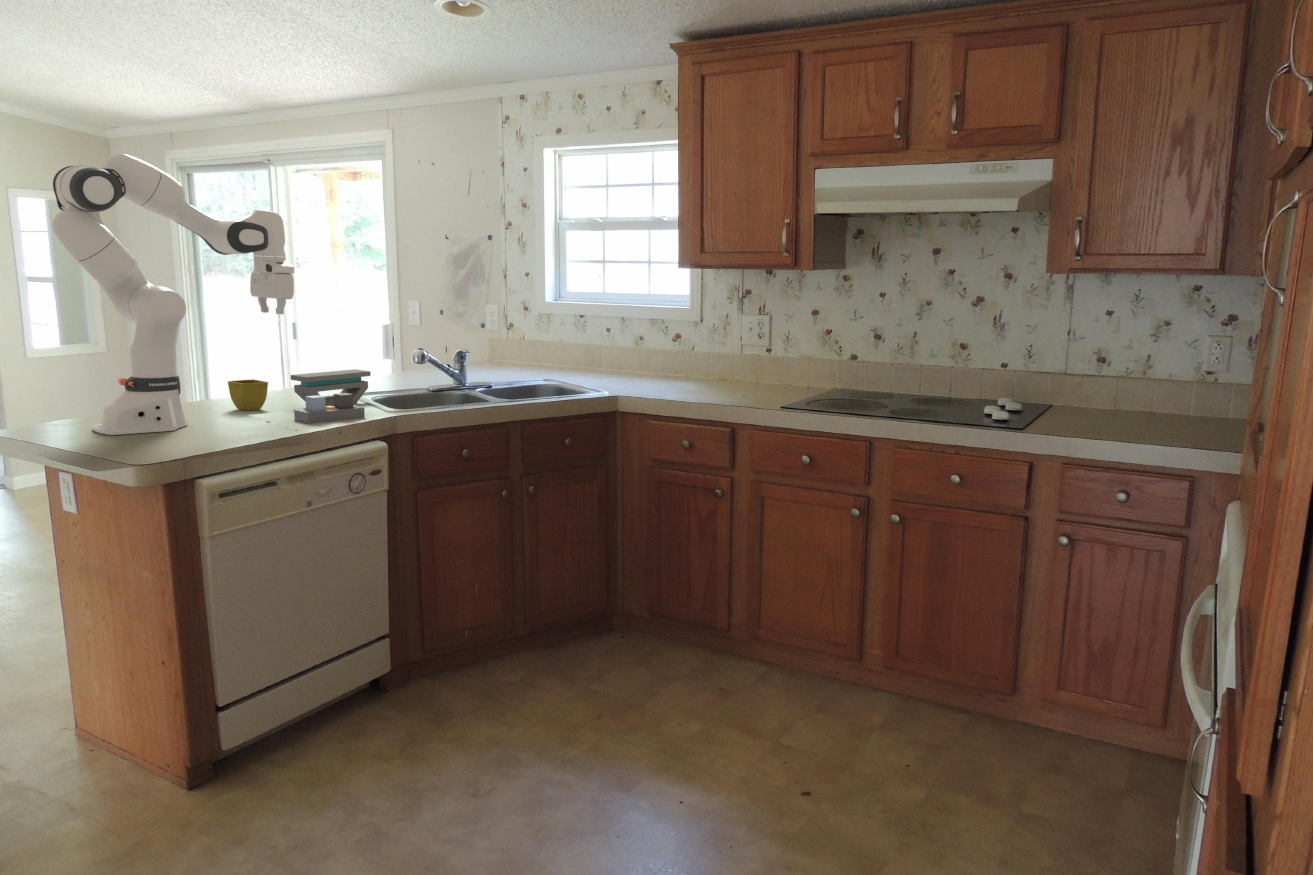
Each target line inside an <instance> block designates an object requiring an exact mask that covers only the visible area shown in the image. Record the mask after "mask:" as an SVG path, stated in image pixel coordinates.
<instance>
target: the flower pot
mask: <svg viewBox="0 0 1313 875" xmlns="http://www.w3.org/2000/svg"><path fill="white" fill-rule="evenodd" d="M227 385H228V391H229V396H230V398H231V401H232V403H233V405H234V406H235V407H236V409H237V410H240V411H245V412H247V411H254V410H256V411H258V410H257V409H259V410H261V409H262V408H263V406H264V404H265V402H266V400H267V397H268V396H267V395H268V387H269V381H266V380H265V381H263V380H258V379H254V378H253V379H252V378H251V379H239V380H237V379H235V380H228V381H227Z"/></svg>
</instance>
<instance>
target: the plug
mask: <svg viewBox="0 0 1313 875" xmlns="http://www.w3.org/2000/svg"><path fill="white" fill-rule="evenodd" d="M305 398H306V402H305V409H306V411H309V412H318V411H326V405H325V397H324V395H321V394H319V395H315V396H305Z"/></svg>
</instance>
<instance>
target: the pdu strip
mask: <svg viewBox="0 0 1313 875" xmlns="http://www.w3.org/2000/svg"><path fill="white" fill-rule="evenodd" d="M293 413H294V416H293V417H294V421H297V422H300V423H305V424H308V425H310V424H318V423H319V424H320V423H326V422H334V421H335V422H336V421H345V420H346V421H347V420H352V419H353V420H354V419H365V417H366V416H365V407H363V406H359V405H356V404H354V405H353V408H347V409H337V408H336V407H334V406H326V411H318V412H309V411H306V408H299V409H293Z"/></svg>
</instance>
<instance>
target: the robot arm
mask: <svg viewBox="0 0 1313 875" xmlns="http://www.w3.org/2000/svg"><path fill="white" fill-rule="evenodd" d="M52 187H53V188H52V189H53V193H54V196H55V199H56V203H57V204H56V205H57V207H58V209H59V210H61V211H60V212H59V213H57V214H56V215H55V217H54V218H53V220H52V223H51V224H52V225H51V227H52V231H53V232H54V234H55V236H56V237H57V239H58V240H59V241H60V242H61V245H63V247H64V248H65V250H66V251H67V252H68V253H69V254H70V256H72V257H73V259H75V261H76V262H77V263H78V264H80V266H81V267H82V268H83V269H84V270H85V271H86V272H87V273H88V274H89V275H90V276H91V278H93V279H94V280H95V282H96V283H97V284H98V285H99V286H100V287H101V289H103V291H104V292H105V294H106V296H107V297H108V299H109V300H110V301H111V303H112V304H113V305H114V308H115V311H117V312H116V313H118V315H120V316H121V317H122V318H123V319H125V320H127V321H128V322H130V323H132V324H135V333H134V338H133V342H132V343H131V345H130V347H129V352H130V354H129V355H130V366H131V367H130V368H131V376H130V377H128V378H125V377H120V378H119V379H117V382H118V384H119V385H121V386H124V391H123V392H122V393H121V394H120V395H118V396H117V397H115V398H114V399H113V400H112V401H110V402H109V403H107V404H106V405H105V406H104V409H103V410H102V411H103V412H102V418H101V419H102V420H101V423H98V424H94V425H93V428H92V429H93V431H94V432H96V433H98V434H102V435H108V436H109V435H110V436H111V435H112V436H117V435H119V436H120V435H130V434H132V435H133V434H143V433H144V434H145V433H158V432H159V433H160V432H171V431H177V430H178V429H180V428H184V427H186V426H187V425H188V422H187V420H186V418H185V415H184V410H183V407H182V402H181V396H180V395H181V389H182V387H181V380H180V376H179V374H178V361H177V344H178V338H179V337H178V335H179V331H180V326H181V323H182V320H183V319H184V318H185V316H186V313H187V305H186V302H185V299H184V298H183V297H182V295H181V294H179V293H178V292H176V291H175V290H173V289H171V288H169V287H166V286H163V285H161V286H160V285H155V284H152V283H151V282H149V280H148V279H147V277H145V275H144V274H143V271H142V270H141V269H140V267H139V265H138V261H137V258H135V256H133V254H132V253H131V252H130V251H129V250H128V248H126V247H125V245H123V244H122V242H121V241H120V240H119V239H118V238H117V237H116V236H115V235H114V234H113V233H112V232H111V230H110V229H108V228H107V227H106V226H105V224H104V222H103V220H102V218H101V215H100V212H104V211H106V210H109V209H111V208H112V207H113V206H115V205H116V204H117V203H118V202H119V200H121V199H122V198H124V199H126V200H129V201H131V202H132V203H134V204H136V205H138V206H140V207H142V208H143V209H145V210H147V211H150V212H152V213H153V214H156V215H159V216H162V217H164V218H167V219H169V220H172V221H174V222H175V223H177V224H178V225H180V226H182V227H184V228H186V229H187V230H189V231H190V232H192V233H194V234H195V235H197V236H198V237H199V238H201V239H202V240H203V241H204V242H205V243H206V245H207V246H208V247H209V248H210V249H211V250H212V251H214V252H215V253H217V254H219V255H223V256H227V255H247V254H250V253H252V254H253V271H252V272H251V274H250V279H249V280H250V286H249V288H250V289H249V290H250V291H249V293H250V295H251V296H252V297H253V298H254V297H257V301H258V304H259V306H260V312H261V313H265V314H266V313H269V312H270V310H269V309H270V308H269V306H268V303H267V301H268V299H275V300H276V303H277V305H276V308H275V314H277V315H284V313H285V306H286V304H287V303H286V300H292V299H293V298H294V293H295V282H294V275H293V274H294V273H295V267H294V265H292V264H291V263H290V262H288V261H287V258H286V256H287V255H286V251H285V244H286V232H285V225H284V221H283V218H282V216H281V215H280V214H279V213H278V212H275V211H271V210H267V209H259V208H258V209H254V210H253V211H252V212H251V213H249V214H247V215H246V216H243V217H239V218H238V219H220V218H214V217H211V216H210V215H208V214H207V213H205V212H203V211H201V210H200V209H198V208H197V207H195V206H194V205H192V204H191V203H189V202H188V201H187V200H186V192H185V189H184V187H183V185H182V183H180V182H179V181H178V180H177V179H175V178H174V177H173V176H171V175H170V174H168V173H166V172H165V171H163V170H161V169H159V168H158V167H157V166H154V165H152V164H150V163H148V162H146V161H144V160H142V159H140V158H138V157H134V156H133V155H129V154H127V153H115V154H113V155H111V156H110V157H109V158H107V160H106V161H105V162H104V164H103V166H102V167H94V166H92V167H91V166H88V165H69V166H66V167H63V168H61V169H60V170H58V171H57V172H56V174H55V175H54V177H53V180H52Z"/></svg>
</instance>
